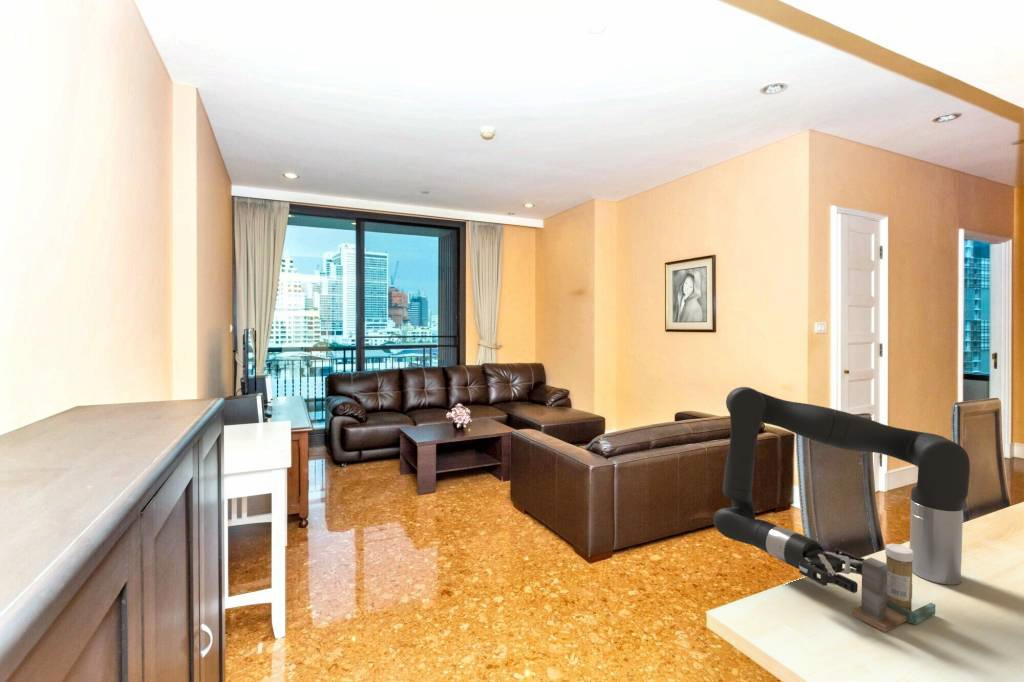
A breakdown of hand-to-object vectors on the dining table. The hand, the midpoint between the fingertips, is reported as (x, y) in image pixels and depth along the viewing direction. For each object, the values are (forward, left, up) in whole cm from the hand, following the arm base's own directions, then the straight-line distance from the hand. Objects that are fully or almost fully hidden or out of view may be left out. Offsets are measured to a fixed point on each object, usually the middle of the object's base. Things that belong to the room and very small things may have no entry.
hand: (869, 583), depth 96 cm
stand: (-6, +1, -7) cm, 9 cm away
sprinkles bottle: (-9, +1, -8) cm, 12 cm away
